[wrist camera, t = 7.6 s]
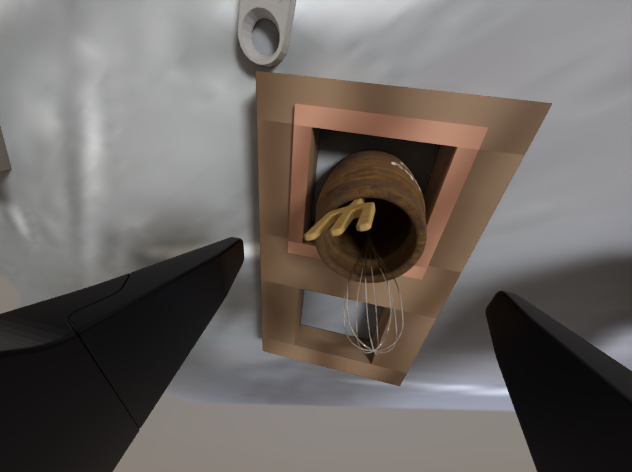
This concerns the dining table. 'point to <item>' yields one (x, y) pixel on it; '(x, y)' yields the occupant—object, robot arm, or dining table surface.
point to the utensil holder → (370, 224)
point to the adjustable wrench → (276, 6)
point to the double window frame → (439, 196)
